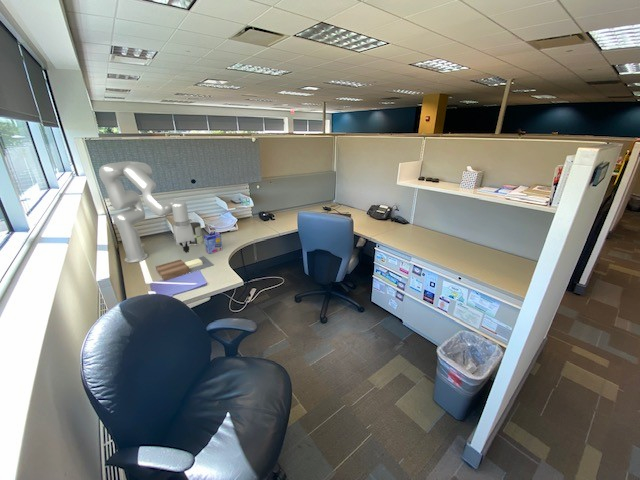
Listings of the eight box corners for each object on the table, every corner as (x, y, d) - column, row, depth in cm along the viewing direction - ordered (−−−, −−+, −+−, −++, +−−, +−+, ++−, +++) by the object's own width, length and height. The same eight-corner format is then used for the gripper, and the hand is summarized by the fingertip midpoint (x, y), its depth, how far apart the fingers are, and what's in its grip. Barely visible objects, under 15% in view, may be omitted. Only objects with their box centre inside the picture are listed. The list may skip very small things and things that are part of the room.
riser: (156, 271, 162) (155, 266, 161) (181, 263, 171) (180, 259, 170) (164, 280, 152) (163, 276, 151) (190, 272, 161) (189, 267, 160)
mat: (181, 263, 171) (181, 262, 171) (203, 256, 180) (203, 256, 180) (190, 272, 160) (190, 272, 160) (213, 265, 169) (213, 264, 169)
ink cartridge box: (209, 254, 183) (206, 234, 178) (205, 251, 187) (202, 232, 181) (223, 249, 190) (220, 230, 184) (219, 247, 193) (216, 228, 188)
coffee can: (190, 246, 195) (186, 227, 189) (186, 241, 202) (183, 223, 197) (205, 243, 200) (202, 225, 195) (201, 238, 208) (198, 221, 203)
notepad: (184, 265, 168) (183, 262, 167) (199, 261, 174) (198, 258, 173) (187, 269, 164) (187, 266, 163) (202, 264, 169) (202, 261, 169)
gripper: (193, 218, 164) (197, 246, 171) (165, 223, 155) (171, 253, 162) (197, 222, 159) (201, 250, 166) (169, 227, 150) (175, 257, 157)
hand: (186, 251), depth 164 cm, fingers closed
